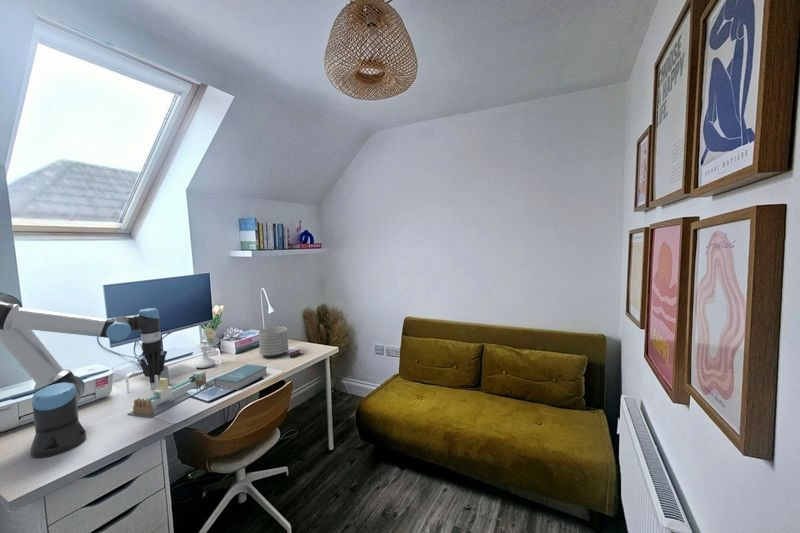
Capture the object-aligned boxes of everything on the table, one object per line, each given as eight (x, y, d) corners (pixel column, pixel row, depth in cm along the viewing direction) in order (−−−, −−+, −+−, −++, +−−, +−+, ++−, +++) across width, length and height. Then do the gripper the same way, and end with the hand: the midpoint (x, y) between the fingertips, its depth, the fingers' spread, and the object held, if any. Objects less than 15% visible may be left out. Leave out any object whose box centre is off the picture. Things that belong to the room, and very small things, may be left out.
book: (237, 390, 174) (236, 381, 173) (214, 387, 179) (214, 378, 179) (267, 374, 195) (266, 366, 195) (246, 371, 200) (246, 364, 200)
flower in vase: (200, 371, 202) (198, 332, 201) (191, 367, 208) (189, 330, 207) (221, 364, 214) (219, 327, 212) (212, 361, 220) (209, 325, 218)
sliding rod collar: (161, 400, 156) (159, 381, 156) (153, 400, 157) (152, 381, 157) (172, 395, 162) (171, 376, 161) (165, 394, 163) (164, 376, 162)
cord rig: (151, 417, 147) (150, 402, 146) (127, 414, 150) (126, 399, 149) (214, 384, 182) (213, 371, 181) (193, 382, 185) (192, 370, 184)
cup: (159, 389, 176) (158, 372, 176) (147, 389, 178) (145, 371, 177) (173, 383, 185) (171, 366, 184) (161, 382, 186) (159, 365, 186)
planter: (283, 348, 243) (281, 325, 242) (292, 355, 228) (291, 330, 227) (256, 354, 231) (255, 330, 230) (264, 361, 216) (263, 335, 215)
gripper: (143, 345, 147) (148, 395, 148) (170, 337, 159) (174, 383, 161) (131, 344, 149) (135, 393, 150) (158, 336, 161) (162, 382, 163)
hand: (155, 388), depth 156 cm, fingers closed
